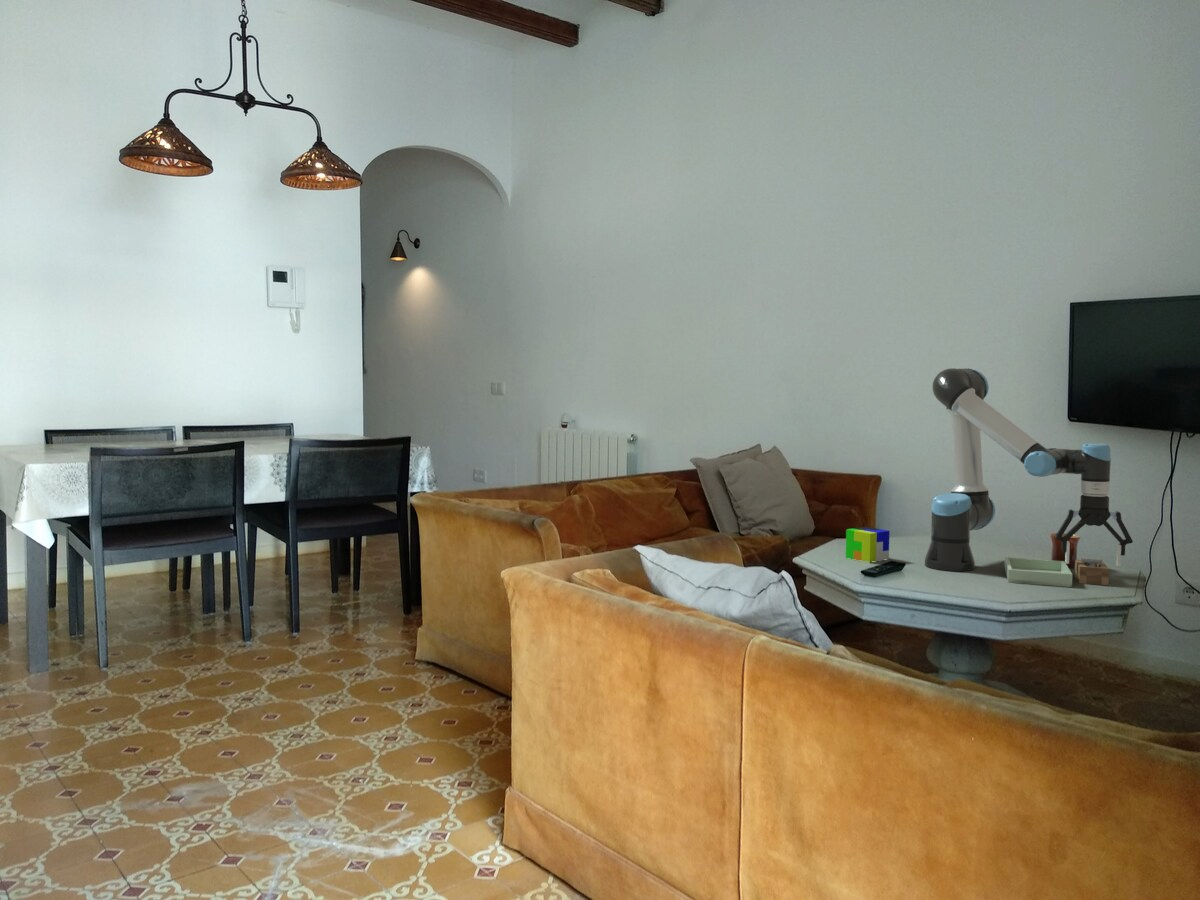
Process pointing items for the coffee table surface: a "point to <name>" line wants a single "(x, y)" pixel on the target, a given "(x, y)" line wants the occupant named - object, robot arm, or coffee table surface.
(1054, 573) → the tray
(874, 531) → the puzzle toy
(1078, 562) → the light brown wooden box
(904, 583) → the coffee table surface
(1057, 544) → the mug
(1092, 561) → the stake
